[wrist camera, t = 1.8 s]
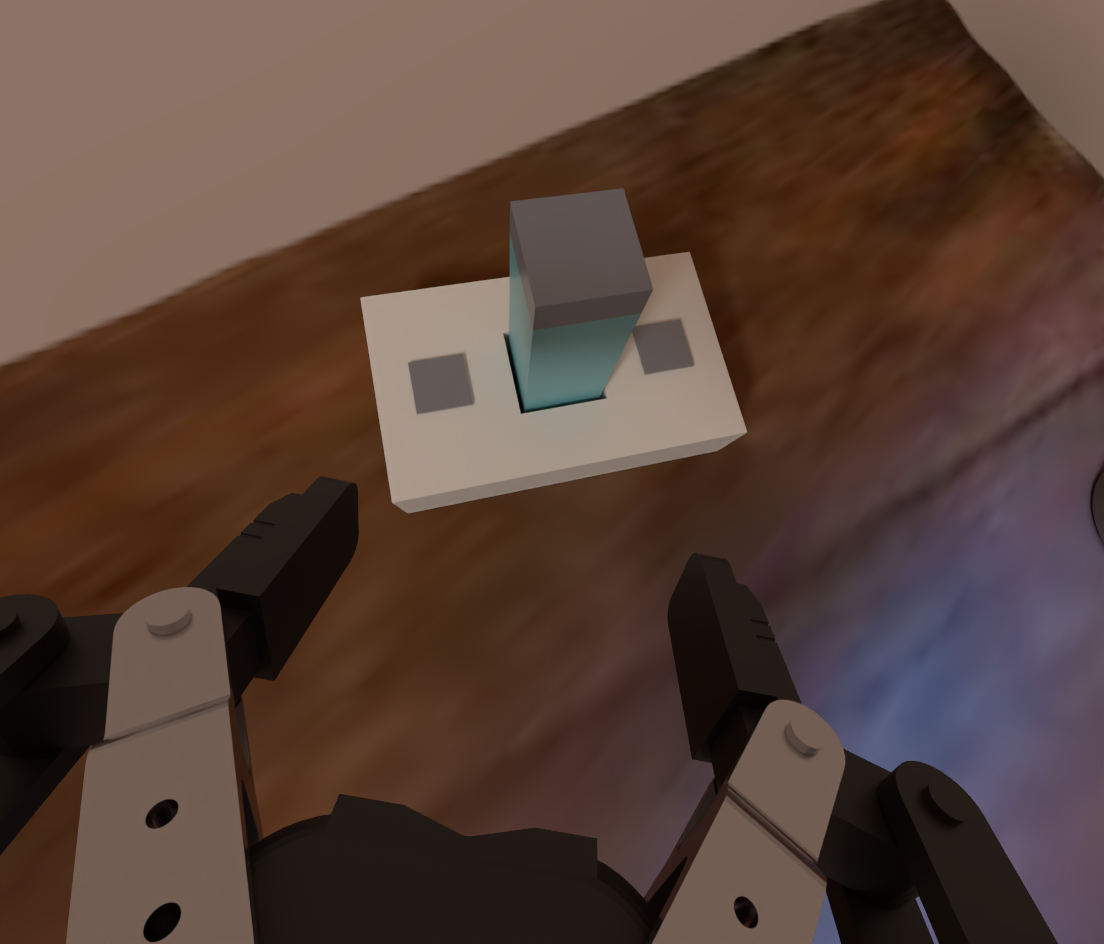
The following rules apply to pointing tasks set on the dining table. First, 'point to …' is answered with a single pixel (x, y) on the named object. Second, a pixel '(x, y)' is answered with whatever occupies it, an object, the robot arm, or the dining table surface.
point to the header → (547, 435)
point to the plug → (572, 295)
